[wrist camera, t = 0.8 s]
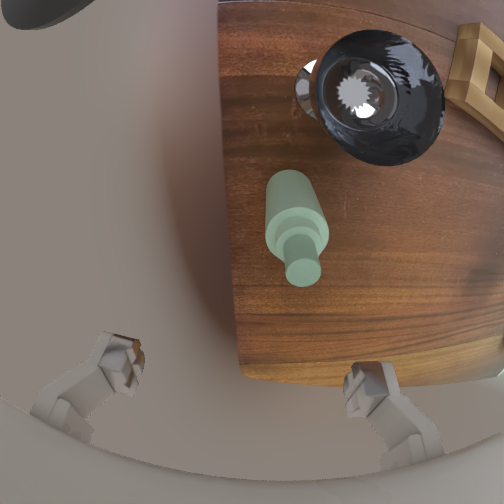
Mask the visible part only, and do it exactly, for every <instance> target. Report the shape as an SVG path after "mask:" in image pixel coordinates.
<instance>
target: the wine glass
mask: <svg viewBox="0 0 504 504" xmlns="http://www.w3.org/2000/svg"><path fill="white" fill-rule="evenodd" d="M295 95H296V99H297V101H298V103H299V105H300V106H301V108H302V109H303V110H304V111H305V113H307V114H308V115H309V116H310V117H312V118H314V119H316V120H317V121H318V122H319V124H320V126H321V127H322V128H323V129H324V131H325V132H326V133H327V134H328V135H329V137H330V138H331V139H332V140H333V141H334V142H335V143H337V144H338V145H339V146H340V147H341V148H342V149H343V150H345V151H346V152H348V153H349V154H351V155H352V156H354V157H355V158H357V159H359V160H362V161H364V162H366V163H370V164H374V165H378V166H395V165H401V164H404V163H408V162H410V161H412V160H414V159H416V158H418V157H419V156H421V155H422V154H423V153H424V152H426V151H427V150H428V149H429V147H430V146H431V145H432V144H433V143H434V141H435V139H436V138H437V136H438V134H439V132H440V130H441V127H442V124H443V120H444V115H445V97H444V90H443V86H442V83H441V80H440V77H439V75H438V73H437V71H436V69H435V67H434V66H433V64H432V63H431V61H430V59H429V58H428V57H427V56H426V55H425V54H424V53H423V51H422V50H420V49H419V48H418V47H417V46H416V45H414V44H413V43H412V42H410V41H409V40H407V39H405V38H404V37H402V36H399V35H397V34H394V33H392V32H388V31H383V30H362V31H357V32H353V33H351V34H348V35H346V36H344V37H342V38H340V39H338V40H337V41H335V42H334V43H333V44H331V45H330V46H329V47H327V48H326V49H325V50H324V51H323V53H322V54H321V55H320V56H319V57H318V59H317V60H314V61H312V62H310V63H308V64H307V65H305V66H304V67H303V68H302V69H301V70H300V72H299V74H298V75H297V78H296V81H295Z"/></svg>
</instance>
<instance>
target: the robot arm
mask: <svg viewBox="0 0 504 504" xmlns="http://www.w3.org/2000/svg"><path fill="white" fill-rule="evenodd" d="M140 346H141V344H140V341H139V340H138V339H134V338H129V337H125V336H121V335H117V334H114V333H110V332H106V331H103V332H102V333H101V334H100V336H99V338H98V340H97V341H96V343H95V345H94V347H93V349H92V351H91V353H90V355H89V357H88V359H87V361H86V362H81V363H80V364H78V365H77V366H75V367H74V368H72V369H70V370H69V371H68V372H66V373H64V374H63V375H61V376H60V377H58V378H56V379H55V380H53V381H52V382H50V383H49V384H47V385H46V386H44V387H42V389H41V390H40V393H39V395H38V397H37V399H36V401H35V403H34V405H33V407H32V409H31V411H30V414H28V413H27V412H25V411H23V410H21V409H20V408H18V407H17V406H15V405H13V404H12V403H10V402H9V401H7V400H6V399H4V398H3V397H1V396H0V504H504V434H502V433H497V434H495V435H492V436H491V437H488V438H486V439H484V440H482V441H479V442H477V443H475V444H472V445H470V446H467V447H465V448H462V449H460V450H457V451H454V452H451V453H449V454H446V455H445V454H444V450H443V446H442V442H441V438H440V433H439V429H438V427H437V426H436V425H434V423H432V421H430V420H429V419H428V417H426V416H425V415H424V414H423V413H422V412H421V411H420V410H419V409H418V408H417V407H416V406H415V405H414V404H413V403H412V402H411V401H410V400H409V399H408V398H407V397H406V396H405V395H401V392H400V388H399V385H398V381H397V378H396V374H395V371H394V368H393V365H392V363H391V362H390V361H365V362H355V363H353V365H352V367H351V368H352V371H350V372H349V373H347V375H346V377H345V379H344V384H343V390H344V395H345V396H346V397H347V398H348V401H347V403H346V411H347V418H364V417H367V420H368V421H369V423H370V424H371V425H372V427H373V428H374V430H375V431H376V432H377V433H378V435H379V436H380V438H381V439H382V440H383V441H384V443H385V444H386V446H387V447H388V448H389V450H388V451H387V452H386V453H384V454H382V455H381V456H380V457H379V463H380V472H377V473H372V474H365V475H359V476H352V477H344V478H334V479H322V480H303V481H264V480H246V479H235V478H225V477H216V476H209V475H203V474H197V473H191V472H186V471H181V470H175V469H171V468H167V467H162V466H158V465H154V464H150V463H146V462H143V461H139V460H136V459H132V458H129V457H126V456H123V455H120V454H117V453H114V452H111V451H108V450H106V449H103V448H100V447H98V446H95V445H92V444H90V440H91V437H92V434H93V431H94V429H93V427H92V426H91V425H90V424H89V423H88V422H87V421H86V420H85V419H86V418H87V417H88V416H89V415H90V414H91V413H93V412H94V411H95V410H96V409H97V408H98V407H99V406H101V405H102V404H103V403H104V402H105V401H106V400H107V399H109V398H110V397H111V396H112V395H113V394H114V393H115V392H117V393H121V394H125V395H129V396H134V395H135V392H136V389H137V386H138V380H137V377H138V376H139V375H141V374H142V372H143V369H144V363H145V358H144V353H143V351H141V350H140Z"/></svg>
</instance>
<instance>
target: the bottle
mask: <svg viewBox="0 0 504 504" xmlns="http://www.w3.org/2000/svg"><path fill="white" fill-rule="evenodd" d="M328 238H329V228H328V225H327V222H326V220H325V217H324V214H323V212H322V209H321V207H320V204H319V202H318V199H317V197H316V194H315V192H314V190H313V187H312V185H311V182H310V180H309V179H308V178H307V177H306V176H305V175H304V174H303V173H301V172H299V171H296V170H290V169H289V170H282V171H280V172H278V173H276V174H275V175H273V176H272V177H271V178H270V180H269V182H268V184H267V187H266V222H265V239H266V244H267V246H268V248H269V250H270V251H271V252H272V253H273V254H274V255H275V256H276V257H278V258H279V259H281V260H282V261H283V262H284V263H285V272H286V278H287V280H288V281H289V282H290V283H291V284H293V285H295V286H299V287H305V286H309V285H312V284H314V283H315V282H316V281H317V280H318V279H319V277H320V275H321V267H320V263H319V259H318V257H319V255H320V253H321V252H322V251H323V249H324V248H325V246H326V244H327V242H328Z"/></svg>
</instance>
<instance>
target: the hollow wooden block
mask: <svg viewBox="0 0 504 504" xmlns="http://www.w3.org/2000/svg"><path fill="white" fill-rule="evenodd" d="M490 67H492V68H493V69H494V70H495V71H496V72H497V73H498V74H499V75H500V80H499V85H498V90H497V94H496V98H495V102H494V101H493V100H491V99H490V98H489V97H488V96H487V95H486V94H484V93H485V89H486V85H487V80H488V76H489V71H490ZM444 97H445V98H446V99H448V100H449V101H451V102H452V103H454V104H455V105H457V106H458V107H460V108H461V109H462V110H464V111H465V112H467V113H468V114H469V115H471V116H472V117H473V118H475V119H476V120H477V121H479V122H480V123H481V124H483V125H484V126H485V127H486V128H488V129H489V130H490V131H491V132H492V133H494V134H495V135H496V136H497V137H498V138H500V139H501V140H502V141H503V142H504V43H503V42H502V41H501V40H500V39H499V38H498V37H497V36H496V35H495V34H494V33H493V32H491V31H490V30H489V29H488V28H487V27H486V26H485V25H483V24H482V23H481V22H480V23H470V24H462V25H459V30H458V36H457V42H456V47H455V52H454V56H453V61H452V65H451V70H450V74H449V78H448V81H447V85H446V89H445V92H444Z"/></svg>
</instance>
